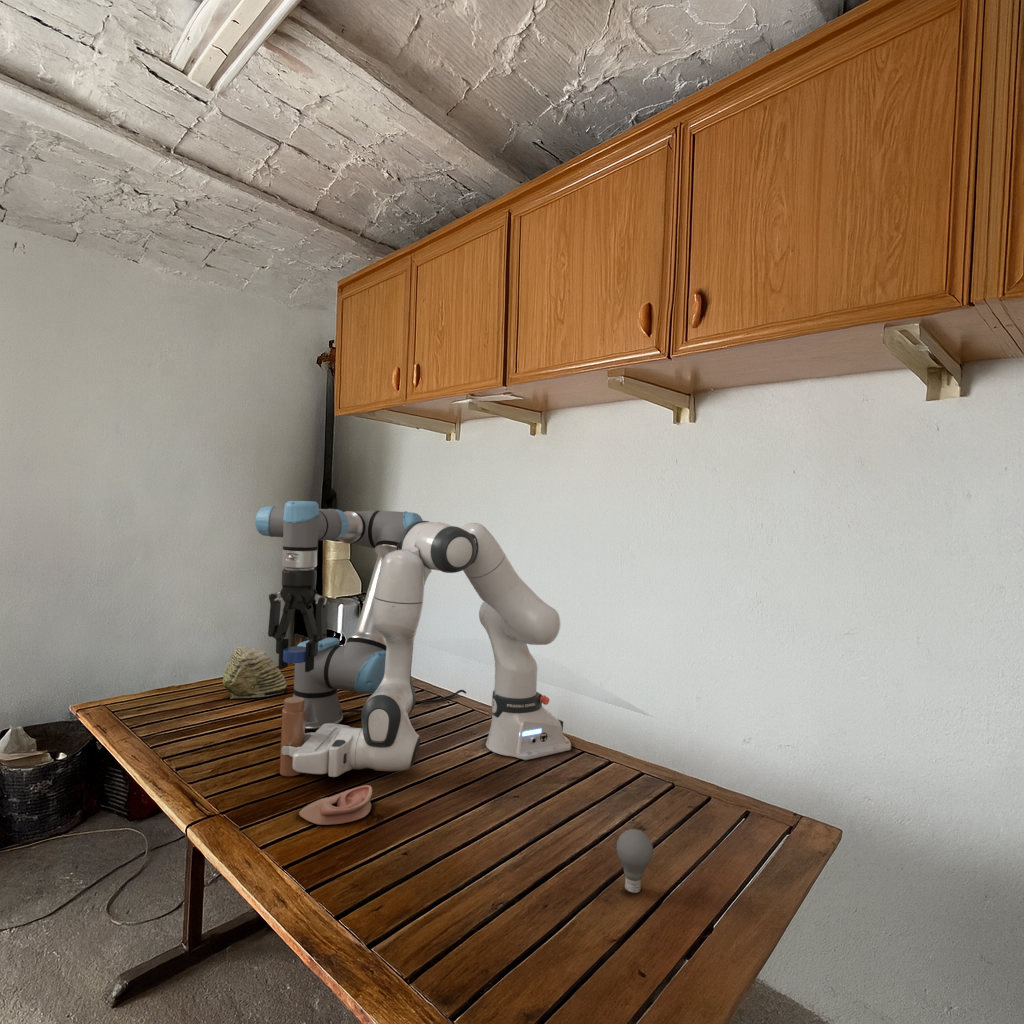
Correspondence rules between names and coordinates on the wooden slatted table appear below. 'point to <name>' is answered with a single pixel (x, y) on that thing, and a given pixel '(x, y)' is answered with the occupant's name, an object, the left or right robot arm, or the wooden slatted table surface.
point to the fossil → (252, 674)
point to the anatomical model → (339, 807)
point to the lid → (294, 654)
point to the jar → (292, 731)
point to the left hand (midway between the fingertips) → (296, 668)
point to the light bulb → (634, 857)
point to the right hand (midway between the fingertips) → (288, 743)
